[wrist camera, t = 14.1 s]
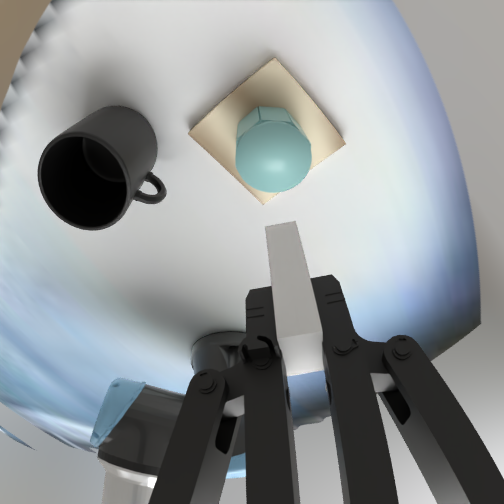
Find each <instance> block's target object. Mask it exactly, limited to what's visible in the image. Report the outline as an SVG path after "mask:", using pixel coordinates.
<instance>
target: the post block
mask: <svg viewBox="0 0 504 504" xmlns="http://www.w3.org/2000/svg"><path fill="white" fill-rule="evenodd" d="M259 106H264V107H278V108H284V109H286V110H287V111H288V112H289V113H290V115H291V116H292V117H293V118H294V119H295V120H296V121H297V123H298V124H299V125H300V126H301V128H302V129H303V131H304V133H305V134H306V136H307V138H308V140H309V141H310V143H311V153H312V161H311V166H310V169H309V170H311V169H312V168H313V167H315V166H316V165H318V164H319V163H320V162H322V161H323V160H324V159H326V158H327V157H329V156H330V155H331V154H333V153H334V152H336V151H337V150H338V149H340V148H341V147H342V146H344V145H345V144H346V143H345V141H344V140H343V139H342V137H341V136H340V135H339V133H338V132H337V131H336V129H335V128H334V127H333V125H332V124H331V123H330V121H329V120H328V119H327V118H326V116H325V115H324V114H323V113H322V111H321V110H320V109H319V108H318V106H317V105H316V104H315V103H314V101H313V100H312V99H311V98H310V97H309V95H308V94H307V93H306V92H305V91H304V90H303V88H302V87H301V86H300V85H299V84H298V83H297V81H296V80H295V79H294V78H293V77H292V76H291V75H290V73H289V72H288V71H287V70H286V69H285V68H284V67H283V66H282V65H281V64H280V63H279V61H278V60H277V59H276V58H273V59H272V60H271V61H269V62H268V63H267V64H265V65H264V66H263V67H262V68H260V69H259V70H258V71H257V72H255V73H254V74H253V75H252V76H251V77H249V78H248V79H247V80H246V81H244V82H243V83H242V84H241V85H240V86H239V87H237V88H236V89H235V90H234V91H233V92H232V93H230V94H229V95H228V96H227V97H226V98H225V99H224V100H222V101H221V102H220V103H219V104H218V105H217V106H216V107H215V108H214V109H212V110H211V111H210V112H209V113H208V114H207V115H206V116H205V117H204V118H203V119H202V120H201V121H200V122H198V123H197V124H196V125H195V126H194V127H193V128H192V129H191V130H190V131H189V133H188V135H189V136H191V137H192V138H193V139H194V140H195V141H196V142H197V143H198V144H199V145H200V146H201V147H203V148H204V149H205V150H206V151H207V152H208V153H209V154H210V155H211V156H212V157H213V158H214V159H215V160H217V161H218V162H219V163H220V164H221V165H222V166H223V167H224V168H225V169H226V170H227V171H228V172H229V173H230V174H231V175H232V176H234V177H235V178H236V179H237V180H238V181H239V182H240V183H241V184H242V185H243V186H244V187H245V188H246V189H247V190H248V191H249V192H250V193H251V194H252V195H253V196H254V197H255V198H256V199H257V200H258V201H260V202H261V203H262V204H263V205H264V204H265V203H266V202H268V201H269V200H270V199H272V198H273V197H274V196H276V195H277V194H278V193H280V192H277V193H269V192H263V191H260V190H257V189H255V188H253V187H251V186H250V185H248V184H247V183H246V182H245V181H244V180H243V179H242V177H241V176H240V174H239V172H238V170H237V169H236V167H235V157H236V138H237V128H238V124H239V122H240V121H241V120H242V119H243V118H244V117H245V116H247V115H248V114H249V113H250V112H251V111H253V110H254V109H255V108H256V107H258V108H259Z"/></svg>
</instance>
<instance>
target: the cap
mask: <svg viewBox="0 0 504 504" xmlns="http://www.w3.org/2000/svg"><path fill="white" fill-rule="evenodd" d="M311 161H312V153H311V143H310V141H309V140H308V138H307V136H306V134H305V133H304V131H303V129H302V128H301V126H300V125H299V124H298V123H297V121H296V120H295V119H294V118H293V117H292V116H291V115H290V113H289V112H288V111H287V110H286V109H284V108H278V107H264V106H259V108H258V107H256V108H255V109H254V110H253V111H251V112H250V113H249V114H248V115H247V116H245V117H244V118H243V119H242V120H241V121H240V122H239V124H238V128H237V138H236V157H235V167H236V169H237V170H238V172H239V174H240V176H241V177H242V179H243V180H244V181H245V182H246V183H247V184H248V185H250V186H251V187H253V188H255V189H257V190H260V191H263V192H269V193H277V192H283V191H286V190H289V189H291V188H293V187H295V186H296V185H298V184H299V183H300V182H301V181H302V180H303V179H304V178H305V176H306V175H307V173H308V171H309V169H310V166H311Z"/></svg>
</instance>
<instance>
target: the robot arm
mask: <svg viewBox="0 0 504 504" xmlns="http://www.w3.org/2000/svg"><path fill="white" fill-rule="evenodd" d="M265 229H266V238H267V247H268V256H269V265H270V275H271V284H272V286H269V287H264V288H258V289H252V290H250V291H249V293H248V295H247V297H246V333H241V332H221V333H215V334H211V335H208V336H205V337H203V338H201V339H199V340H198V341H197V342H196V343H195V344H194V345H193V347H192V353H191V365H192V368H193V370H194V374H195V375H194V376H193V378H192V379H191V381H190V384H189V386H188V389H187V392H186V394H181V393H177V392H173V391H169V390H165V389H162V388H158V387H154V386H151V385H147V384H146V382H142V383H141V382H137V381H133V380H129V379H126V378H117V379H115V380H114V381H113V382H112V383H111V385H110V387H109V389H108V391H107V393H106V396H105V398H104V401H103V404H102V406H101V409H100V412H99V414H98V417H97V420H96V423H95V426H94V429H93V433H92V436H91V439H90V442H91V444H93V445H94V446H95V447H99V451H98V457H97V458H98V460H99V461H100V463H101V464H102V466H103V467H104V468H105V471H106V475H105V482H104V489H103V497H102V504H219V501H220V497H221V493H222V490H223V486H224V483H225V479H228V478H239V477H246V495H247V496H246V497H247V504H300V496H299V483H298V473H297V463H296V451H295V441H294V431H293V421H292V412H291V402H290V393H289V387H288V382H287V376H292V375H298V374H304V373H310V372H316V371H321V370H324V371H325V377H326V391H327V393H328V399H329V405H330V411H331V417H332V423H333V429H334V436H335V442H336V448H337V456H338V463H339V470H340V478H341V485H342V493H343V501H344V504H399V503H398V496H397V490H396V485H395V479H394V474H393V469H392V463H391V458H390V453H389V449H388V444H387V439H386V435H385V430H384V426H383V422H382V418H381V413H380V409H379V405H378V401H377V397H376V393H375V391H376V392H378V394H379V396H380V397H381V399H382V401H383V403H384V405H385V407H386V408H387V410H388V412H389V414H390V415H391V417H392V419H393V421H394V423H395V424H396V426H397V428H398V430H399V432H400V433H401V435H402V437H403V439H404V441H405V443H406V444H407V446H408V448H409V450H410V452H411V454H412V455H413V457H414V459H415V461H416V463H417V465H418V467H419V469H420V470H421V473H422V474H423V476H424V478H425V480H426V482H427V484H428V486H429V488H430V490H431V492H432V494H433V496H434V497H435V500H436V502H437V504H504V479H503V477H502V475H501V473H500V471H499V470H498V468H497V466H496V464H495V462H494V460H493V459H492V457H491V455H490V453H489V452H488V450H487V448H486V446H485V445H484V443H483V441H482V440H481V438H480V436H479V435H478V433H477V431H476V430H475V428H474V426H473V425H472V423H471V422H470V420H469V418H468V417H467V415H466V414H465V412H464V410H463V409H462V407H461V406H460V404H459V403H458V401H457V400H456V398H455V397H454V395H453V393H452V392H451V390H450V389H449V387H448V386H447V385H446V383H445V381H444V380H443V379H442V377H441V376H440V374H439V373H438V372H437V370H436V369H435V367H434V366H433V364H432V363H431V361H430V360H429V358H428V357H427V356H426V354H425V353H424V351H423V350H422V349H421V347H420V346H419V345H418V343H417V342H416V341H415V340H414V339H413V338H411V337H409V336H406V335H397V336H394V337H392V338H391V339H389V340H388V341H387V343H384V342H372V341H367V340H365V339H363V338H361V337H360V336H359V335H358V334H357V333H356V332H355V329H354V327H353V324H352V320H351V317H350V314H349V311H348V308H347V304H346V301H345V298H344V295H343V293H342V289H341V286H340V283H339V281H338V280H337V279H336V278H335V277H334V276H333V275H326V276H321V277H316V278H310V275H309V271H308V267H307V263H306V259H305V255H304V251H303V247H302V244H301V240H300V236H299V232H298V228H297V225H296V221H293V222H288V223H282V224H277V225H271V226H266V227H265Z"/></svg>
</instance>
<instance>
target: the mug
mask: <svg viewBox="0 0 504 504" xmlns="http://www.w3.org/2000/svg"><path fill="white" fill-rule="evenodd" d="M156 157H157V141H156V137H155V134H154V131H153V129H152V127H151V126H150V124H149V123H148V122H147V120H146V119H145V118H144V117H143V116H142V115H140V114H139V113H138V112H136V111H134V110H132V109H130V108H127V107H123V106H109V107H105V108H102V109H100V110H98V111H96V112H94V113H93V114H91V115H89V116H88V117H86V118H84V119H83V120H81V121H80V122H78V123H76V124H75V125H73V126H72V127H70V128H69V129H67V130H66V131H64V132H63V133H61V134H60V135H59V136H57V137H56V138H54V139H53V140H52V141H51V142H50V143H49V144H48V145H47V146H46V148H45V149H44V151H43V153H42V155H41V158H40V161H39V165H38V182H39V187H40V190H41V193H42V196H43V198H44V200H45V201H46V203H47V205H48V206H49V208H50V209H51V210H52V211H53V212H54V213H55V214H56V215H57V216H58V217H59V218H60V219H61V220H63V221H64V222H66V223H68V224H69V225H71V226H74V227H76V228H79V229H83V230H101V229H105V228H108V227H110V226H112V225H114V224H115V223H116V222H118V221H119V220H120V219H121V218H122V217H123V215H124V214H125V213H126V211H127V209H128V207H129V206H130V204H131V202H132V201H133V200H135V201H140V202H143V203H146V204H156V203H159V202H161V201H162V200H163V199H164V198H165V196H166V188H165V186H164V184H163V182H162V181H161V180H160V179H159V178H158V177H156V176H155V175H153V173H152V172H150V171H151V170H152V168H153V166H154V164H155V161H156ZM144 181H147V182H150V183H152V184H153V185H154V186H155V187H156V189H157V192H158V193H157V194H156V195H148V194H145V193H142V191H140V190H139V189H140V187H141V186H142V184H143V182H144Z"/></svg>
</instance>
